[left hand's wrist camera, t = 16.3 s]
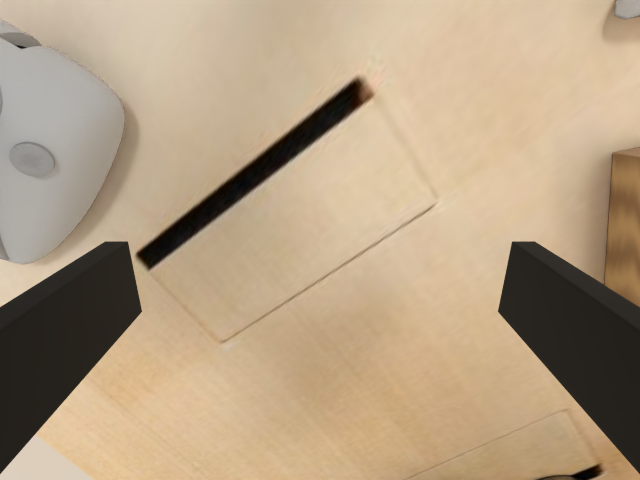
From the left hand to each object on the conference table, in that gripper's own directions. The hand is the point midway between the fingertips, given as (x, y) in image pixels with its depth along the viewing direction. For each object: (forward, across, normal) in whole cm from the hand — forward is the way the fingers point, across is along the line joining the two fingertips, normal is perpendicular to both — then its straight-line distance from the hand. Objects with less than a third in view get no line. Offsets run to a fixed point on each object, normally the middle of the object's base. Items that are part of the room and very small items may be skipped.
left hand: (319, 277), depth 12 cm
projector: (+27, -29, +1) cm, 40 cm away
